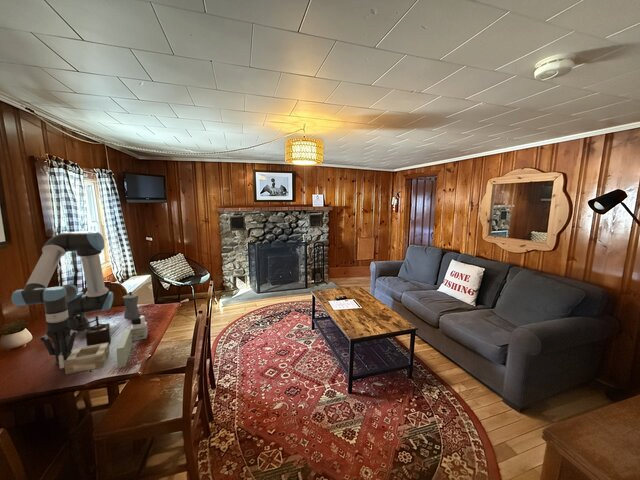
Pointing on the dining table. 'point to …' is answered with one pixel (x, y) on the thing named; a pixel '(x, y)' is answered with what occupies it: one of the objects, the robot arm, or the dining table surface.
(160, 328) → the dining table surface
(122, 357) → the backstop wall
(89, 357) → the socket block
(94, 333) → the coffee grinder
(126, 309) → the coffeepot
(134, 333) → the container
